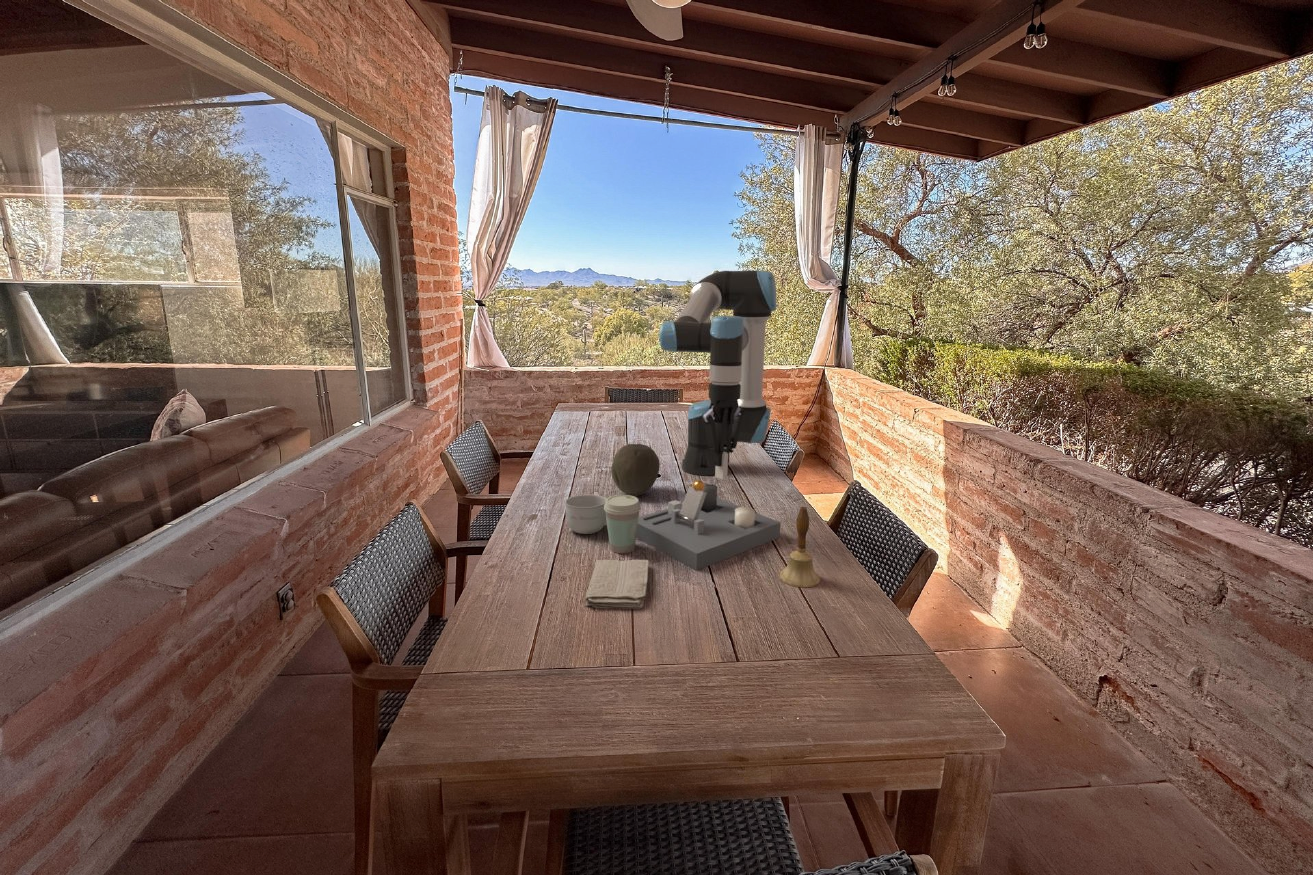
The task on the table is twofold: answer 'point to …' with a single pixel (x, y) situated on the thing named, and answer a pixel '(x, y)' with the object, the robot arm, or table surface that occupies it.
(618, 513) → the coffee cup
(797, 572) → the hand bell
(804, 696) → the table surface
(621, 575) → the washcloth
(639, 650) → the table surface
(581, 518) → the teacup
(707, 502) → the dark gray button
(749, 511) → the cream button
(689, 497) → the lever
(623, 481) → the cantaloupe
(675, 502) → the slider knob
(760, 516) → the panel
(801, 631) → the table surface
